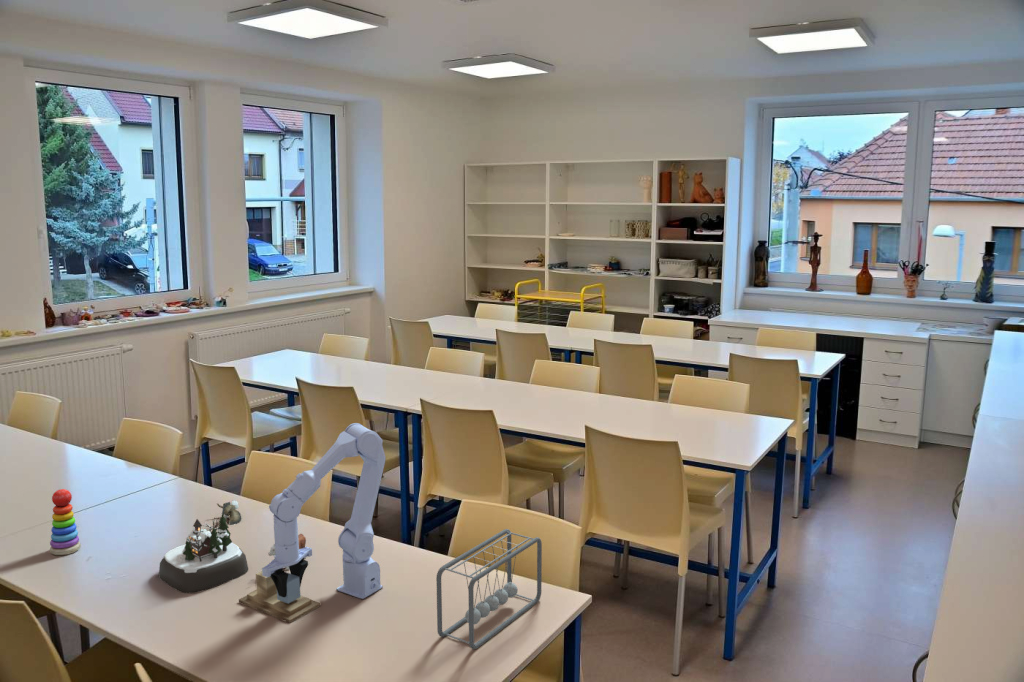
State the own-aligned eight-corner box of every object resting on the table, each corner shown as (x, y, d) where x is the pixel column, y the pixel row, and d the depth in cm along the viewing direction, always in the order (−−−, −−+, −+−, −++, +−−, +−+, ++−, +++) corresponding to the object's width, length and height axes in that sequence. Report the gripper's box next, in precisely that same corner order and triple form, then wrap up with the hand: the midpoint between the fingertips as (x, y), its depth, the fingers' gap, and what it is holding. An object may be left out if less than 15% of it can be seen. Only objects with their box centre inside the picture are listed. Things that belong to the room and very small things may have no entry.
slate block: (300, 597, 205) (299, 576, 204) (288, 603, 202) (286, 583, 201) (289, 592, 208) (288, 572, 207) (277, 599, 204) (276, 579, 203)
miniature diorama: (219, 550, 239) (215, 496, 236) (255, 571, 226) (252, 513, 223) (151, 574, 224) (146, 516, 221) (187, 597, 211) (182, 536, 208)
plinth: (320, 605, 206) (320, 598, 206) (290, 623, 198) (289, 615, 198) (269, 586, 217) (269, 579, 216) (238, 602, 208) (238, 595, 208)
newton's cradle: (508, 589, 215) (508, 525, 212) (542, 599, 209) (542, 535, 206) (436, 639, 191) (435, 569, 188) (472, 653, 185) (471, 581, 182)
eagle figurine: (210, 515, 262) (216, 519, 255) (221, 494, 264) (227, 498, 257) (232, 523, 266) (239, 528, 258) (242, 503, 268) (249, 507, 260)
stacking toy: (67, 557, 234) (61, 495, 231) (43, 555, 236) (37, 494, 233) (87, 546, 242) (81, 486, 239) (63, 543, 244) (57, 484, 240)
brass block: (279, 591, 210) (278, 571, 209) (267, 598, 206) (266, 577, 205) (269, 587, 212) (268, 568, 211) (256, 593, 209) (255, 574, 208)
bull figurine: (266, 573, 225) (265, 545, 223) (300, 554, 236) (299, 527, 235) (278, 576, 223) (277, 548, 221) (311, 557, 234) (310, 530, 233)
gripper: (297, 528, 210) (300, 576, 213) (252, 548, 198) (255, 599, 201) (316, 534, 206) (319, 583, 209) (272, 555, 194) (275, 607, 197)
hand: (289, 592), depth 204 cm, fingers closed on slate block, 4 cm apart
